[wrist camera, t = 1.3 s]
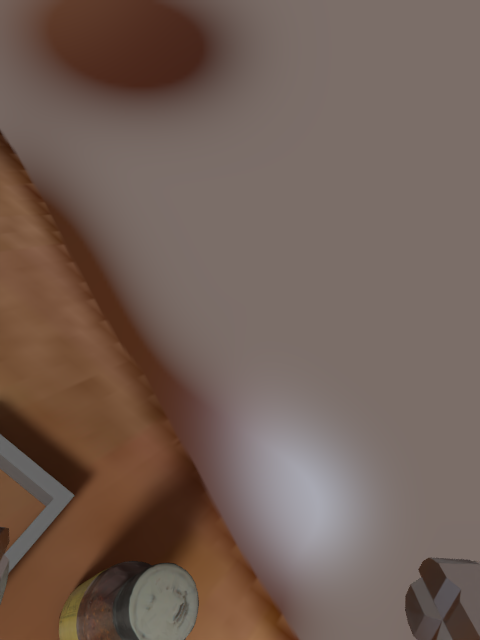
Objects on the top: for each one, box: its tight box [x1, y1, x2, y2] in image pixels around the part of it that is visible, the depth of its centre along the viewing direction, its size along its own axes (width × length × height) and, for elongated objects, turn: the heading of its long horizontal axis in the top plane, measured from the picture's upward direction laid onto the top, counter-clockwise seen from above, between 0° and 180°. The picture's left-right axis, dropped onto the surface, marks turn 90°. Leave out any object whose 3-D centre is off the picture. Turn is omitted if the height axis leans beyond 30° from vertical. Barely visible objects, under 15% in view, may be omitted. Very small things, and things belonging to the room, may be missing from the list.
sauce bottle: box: [59, 561, 199, 640], centre depth 31 cm, size 6×6×20 cm
